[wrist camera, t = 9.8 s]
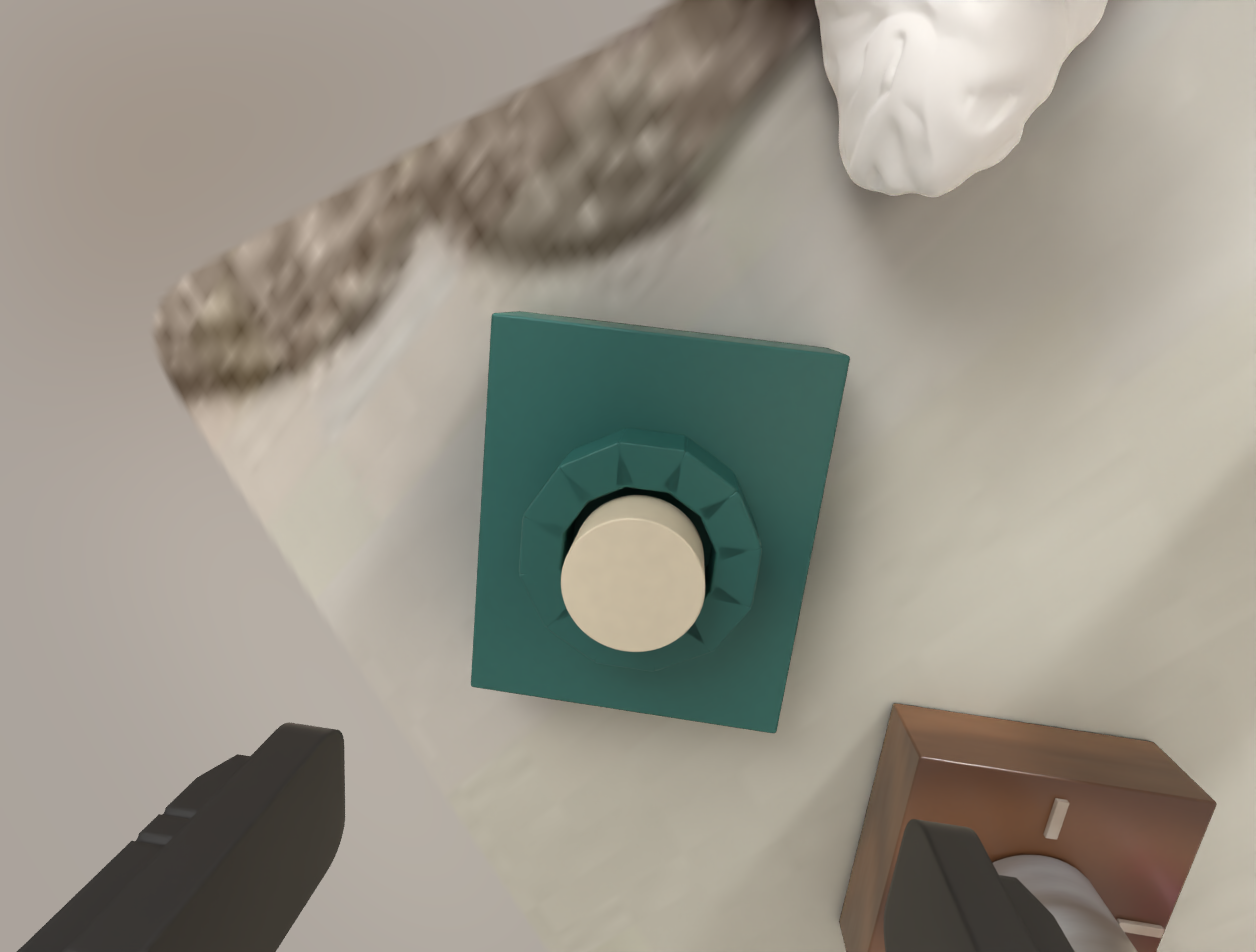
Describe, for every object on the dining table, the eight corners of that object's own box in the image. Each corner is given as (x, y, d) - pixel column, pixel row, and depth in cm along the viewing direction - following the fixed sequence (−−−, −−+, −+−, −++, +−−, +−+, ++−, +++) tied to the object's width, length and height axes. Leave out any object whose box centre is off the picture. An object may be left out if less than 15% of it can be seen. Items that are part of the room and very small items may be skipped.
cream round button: (580, 486, 18) (567, 508, 16) (712, 503, 18) (715, 528, 16) (568, 606, 19) (554, 641, 17) (694, 624, 19) (694, 662, 17)
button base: (517, 310, 22) (467, 314, 17) (829, 347, 21) (869, 362, 16) (495, 642, 25) (448, 725, 20) (766, 683, 24) (784, 778, 19)
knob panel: (892, 701, 24) (921, 760, 21) (1153, 740, 23) (1222, 806, 20) (838, 921, 27) (857, 1001, 24) (1072, 961, 26) (1122, 1048, 23)
